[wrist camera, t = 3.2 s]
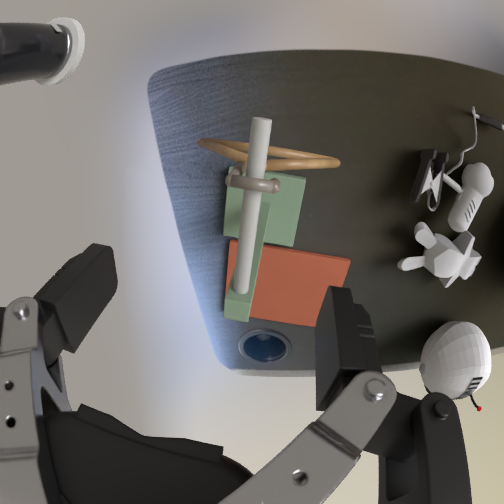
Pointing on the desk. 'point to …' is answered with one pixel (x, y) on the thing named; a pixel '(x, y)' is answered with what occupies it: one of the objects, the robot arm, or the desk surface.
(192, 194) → the desk surface
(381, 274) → the desk surface
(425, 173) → the clip-on lamp
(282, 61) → the desk surface
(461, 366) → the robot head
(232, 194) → the hook stand
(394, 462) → the robot arm
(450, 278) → the bunny figurine
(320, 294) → the mat
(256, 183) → the hanger
